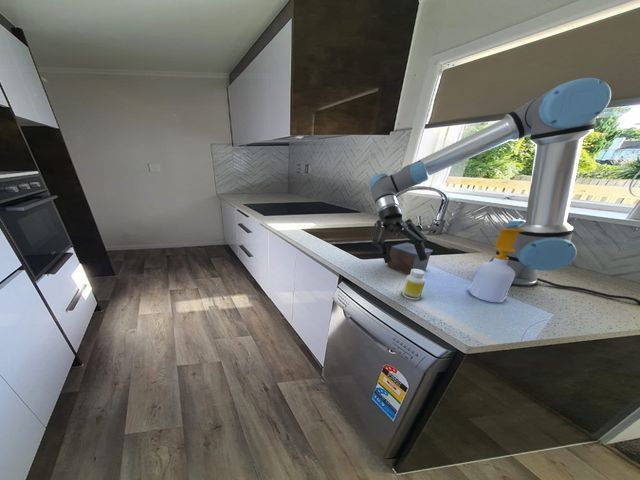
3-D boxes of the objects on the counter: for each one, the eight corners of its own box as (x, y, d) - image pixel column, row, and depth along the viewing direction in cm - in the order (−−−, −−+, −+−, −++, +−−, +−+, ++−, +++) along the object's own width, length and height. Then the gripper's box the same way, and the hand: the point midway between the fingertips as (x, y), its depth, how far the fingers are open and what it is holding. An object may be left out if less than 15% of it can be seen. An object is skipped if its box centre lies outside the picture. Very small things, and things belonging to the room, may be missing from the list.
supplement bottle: (422, 301, 82) (430, 275, 78) (405, 299, 83) (412, 274, 79) (416, 292, 87) (423, 268, 83) (399, 291, 88) (406, 267, 84)
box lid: (432, 251, 100) (432, 250, 99) (416, 256, 95) (417, 254, 95) (406, 243, 109) (406, 242, 108) (391, 247, 104) (391, 246, 104)
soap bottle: (470, 298, 83) (497, 229, 74) (467, 286, 90) (491, 222, 81) (506, 306, 79) (539, 234, 69) (500, 293, 86) (529, 226, 76)
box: (425, 270, 103) (431, 251, 100) (410, 275, 99) (415, 256, 96) (402, 261, 112) (406, 243, 109) (386, 266, 108) (391, 247, 104)
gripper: (411, 214, 99) (430, 262, 91) (353, 216, 96) (367, 266, 88) (425, 203, 92) (446, 255, 84) (363, 205, 89) (379, 258, 81)
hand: (406, 261), depth 86 cm, fingers open, 13 cm apart
